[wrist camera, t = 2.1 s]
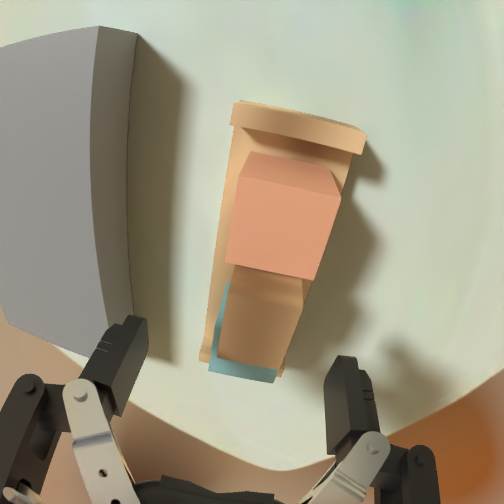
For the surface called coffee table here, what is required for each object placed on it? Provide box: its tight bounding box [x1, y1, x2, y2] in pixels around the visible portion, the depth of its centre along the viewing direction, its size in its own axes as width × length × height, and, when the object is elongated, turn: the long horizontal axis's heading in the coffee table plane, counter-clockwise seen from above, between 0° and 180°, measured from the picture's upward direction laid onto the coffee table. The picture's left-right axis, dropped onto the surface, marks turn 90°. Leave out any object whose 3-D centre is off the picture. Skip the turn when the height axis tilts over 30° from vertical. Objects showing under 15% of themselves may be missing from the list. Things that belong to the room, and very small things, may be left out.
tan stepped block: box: [199, 100, 367, 377], centre depth 16 cm, size 6×17×8 cm, turn 169°
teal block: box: [208, 281, 278, 383], centre depth 19 cm, size 4×4×4 cm
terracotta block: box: [225, 151, 341, 281], centre depth 14 cm, size 4×4×4 cm
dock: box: [0, 26, 138, 358], centre depth 17 cm, size 12×22×4 cm, turn 170°
